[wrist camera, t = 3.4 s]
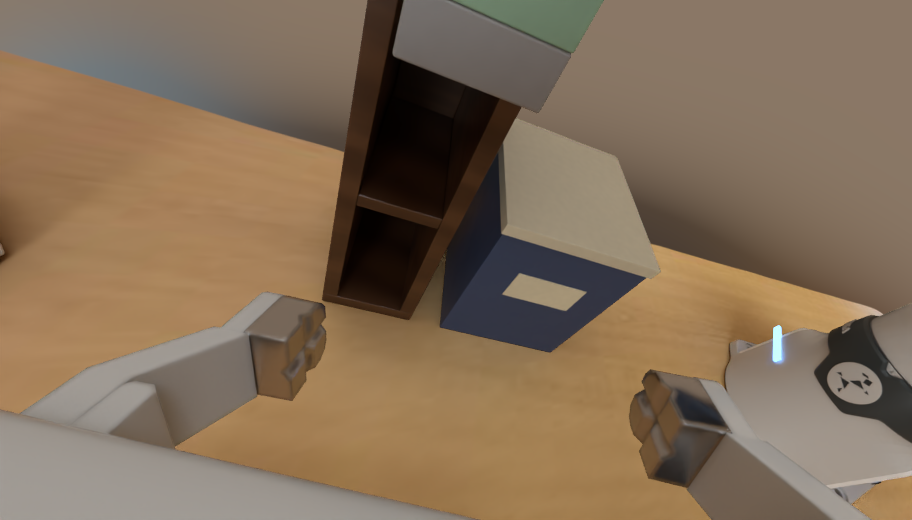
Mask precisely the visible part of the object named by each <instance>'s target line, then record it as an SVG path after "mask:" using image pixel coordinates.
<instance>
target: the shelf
mask: <svg viewBox="0 0 912 520" xmlns="http://www.w3.org/2000/svg"><path fill="white" fill-rule="evenodd" d="M403 1H404V0H368V1H367V8H366V14H365V21H364V27H363V34H362V41H361V47H360V54H359V60H358V67H357V73H356V80H355V87H354V94H353V100H352V107H351V113H350V120H349V126H348V133H347V140H346V146H345V152H344V159H343V165H342V172H341V179H340V185H339V192H338V198H337V205H336V211H335V218H334V225H333V231H332V238H331V244H330V251H329V257H328V264H327V271H326V277H325V284H324V290H323V297H322V300H324V301H328V302H333V303H337V304H341V305H346V306H350V307H354V308H359V309H363V310H367V311H372V312H376V313H381V314H385V315H389V316H394V317H398V318H402V319H407V320H409V319H410V317H411V316H412V314H413V312H414V310H415V308H416V306H417V304H418V302H419V301H420V299H421V297H422V295H423V293H424V291H425V289H426V287H427V285H428V284H429V282H430V280H431V278H432V276H433V274H434V272H435V270H436V268H437V266H438V265H439V263H440V261H441V259H442V257H443V255H444V253H445V251H446V249H447V248H448V246H449V244H450V242H451V240H452V238H453V236H454V234H455V232H456V230H457V229H458V227H459V225H460V223H461V221H462V219H463V217H464V215H465V213H466V211H467V210H468V208H469V206H470V204H471V202H472V200H473V198H474V196H475V194H476V193H477V191H478V189H479V187H480V185H481V183H482V181H483V179H484V177H485V175H486V174H487V172H488V170H489V168H490V166H491V164H492V162H493V160H494V158H495V157H496V155H497V153H498V151H499V149H500V147H501V145H502V143H503V141H504V139H505V138H506V136H507V134H508V132H509V130H510V128H511V126H512V124H513V122H514V121H515V119H516V117H517V115H518V113H519V111H520V109H521V107H520V106H518V105H515V104H513V103H510V102H508V101H505V100H503V99H500V98H498V97H495V96H492V95H490V94H487V93H485V92H482V91H480V90H477V89H475V88H472V87H470V86H467V85H465V84H462V83H459V82H457V81H454V80H452V79H449V78H447V77H444V76H442V75H439V74H437V73H434V72H432V71H429V70H426V69H424V68H421V67H419V66H416V65H414V64H411V63H409V62H406V61H404V60H401V59H399V58H396V57H394V56H393V48H394V43H395V38H396V34H397V29H398V24H399V20H400V15H401V11H402V6H403Z"/></svg>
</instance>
